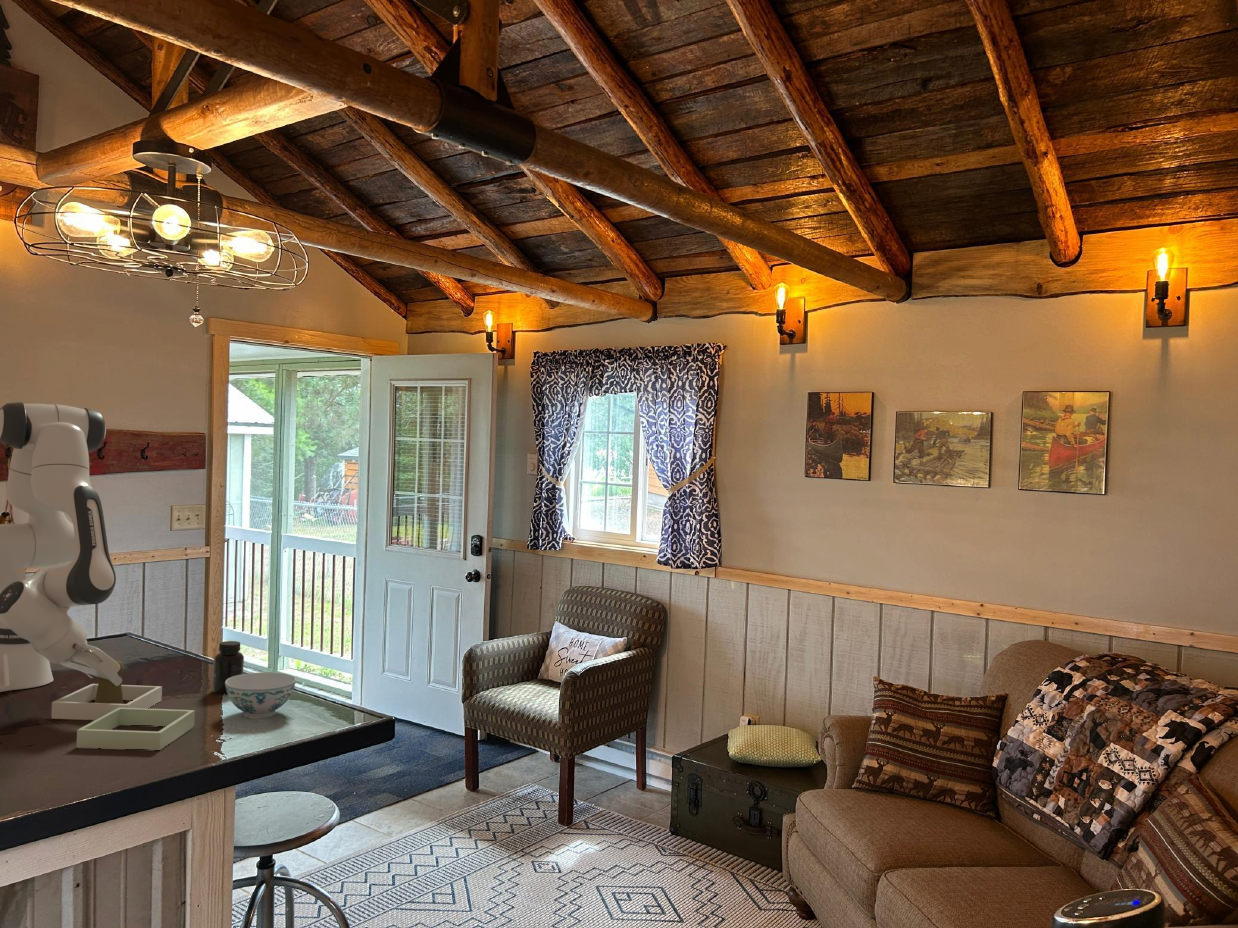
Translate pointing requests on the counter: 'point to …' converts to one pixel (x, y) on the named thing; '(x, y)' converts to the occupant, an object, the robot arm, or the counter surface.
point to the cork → (110, 690)
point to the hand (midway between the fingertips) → (107, 679)
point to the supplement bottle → (227, 665)
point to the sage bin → (106, 738)
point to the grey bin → (82, 710)
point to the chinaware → (260, 692)
